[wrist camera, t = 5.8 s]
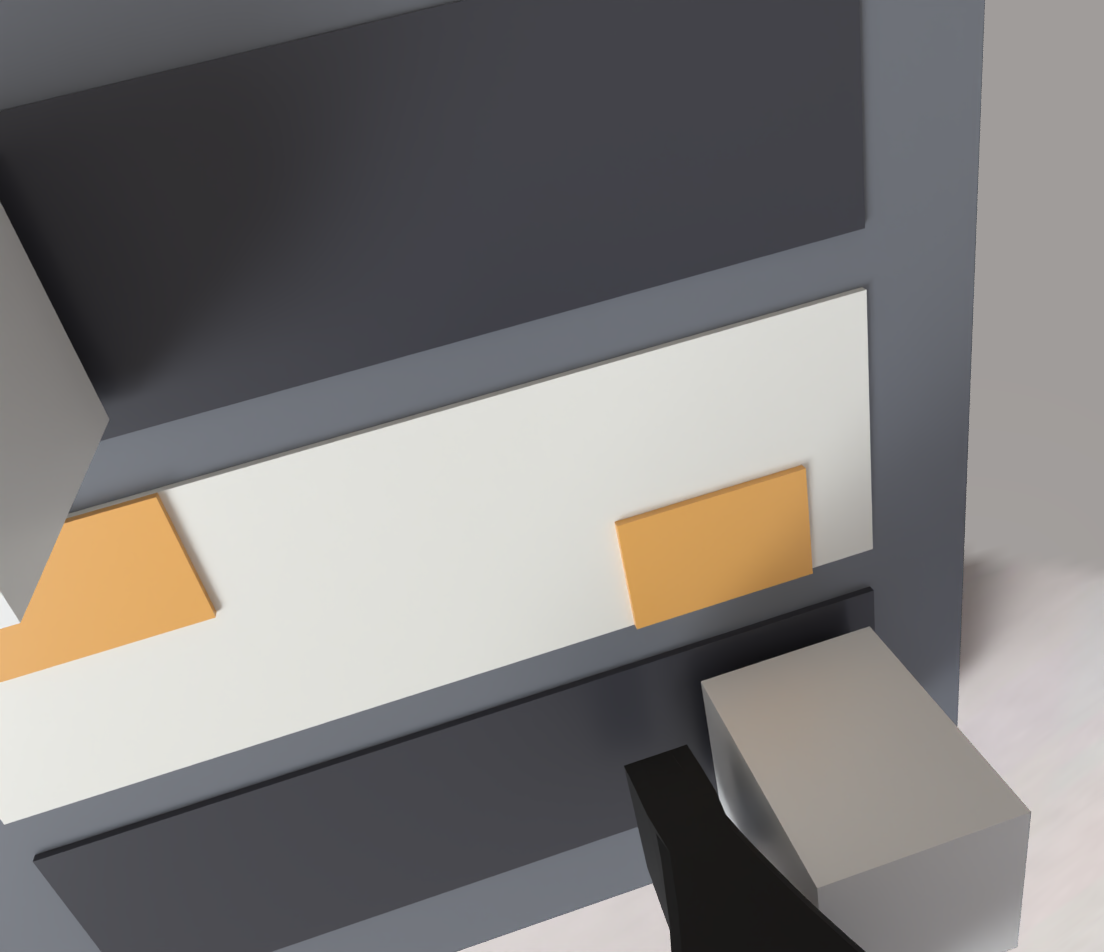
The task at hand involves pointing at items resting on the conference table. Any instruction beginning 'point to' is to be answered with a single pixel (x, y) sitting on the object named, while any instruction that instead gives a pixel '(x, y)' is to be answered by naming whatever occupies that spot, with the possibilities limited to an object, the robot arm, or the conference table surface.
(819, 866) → the switch
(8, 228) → the switch
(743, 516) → the dip bank
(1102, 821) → the conference table surface
